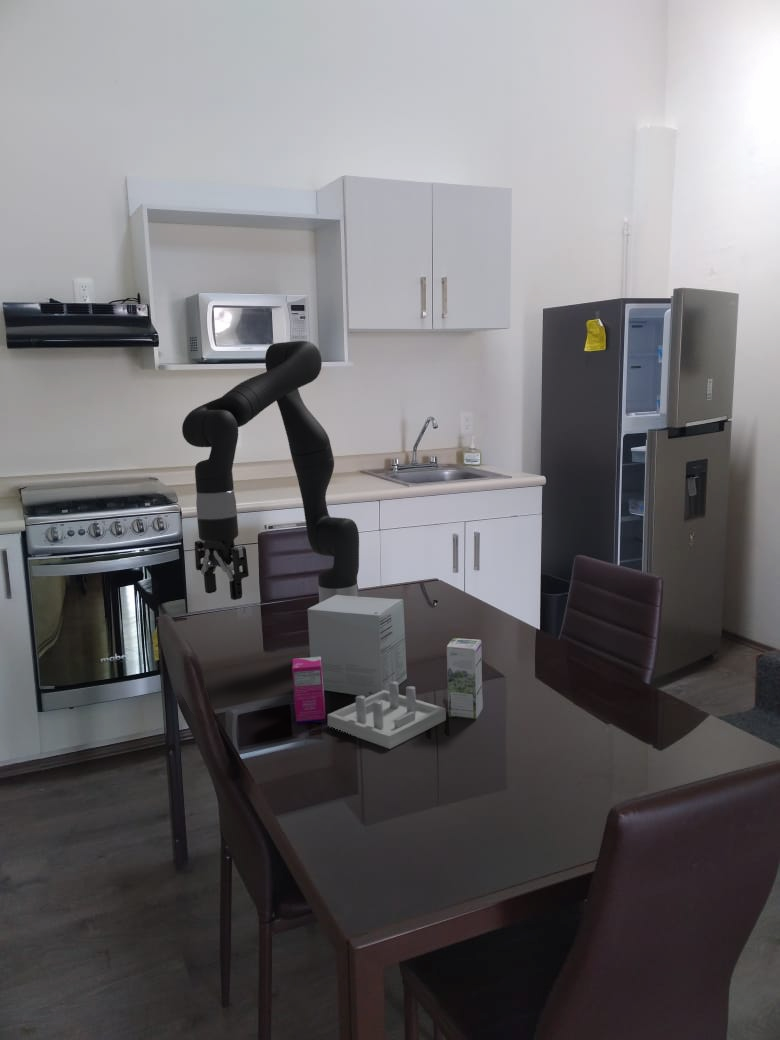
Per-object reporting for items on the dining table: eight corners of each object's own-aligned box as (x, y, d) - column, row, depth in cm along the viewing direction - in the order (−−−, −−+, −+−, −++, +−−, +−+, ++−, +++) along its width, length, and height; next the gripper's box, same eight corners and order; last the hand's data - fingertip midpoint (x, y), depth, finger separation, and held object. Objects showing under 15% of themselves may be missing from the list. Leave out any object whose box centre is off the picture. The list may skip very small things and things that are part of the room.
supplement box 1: (295, 712, 167) (292, 657, 165) (325, 710, 167) (322, 655, 165) (295, 724, 161) (291, 667, 159) (325, 722, 161) (322, 665, 160)
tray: (384, 701, 171) (383, 672, 170) (445, 720, 160) (445, 689, 159) (327, 726, 159) (326, 695, 158) (389, 748, 149) (388, 716, 148)
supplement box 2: (408, 678, 184) (405, 598, 181) (382, 700, 172) (379, 615, 169) (339, 669, 191) (335, 592, 188) (309, 689, 179) (305, 608, 176)
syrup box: (483, 708, 165) (482, 638, 163) (476, 720, 160) (475, 647, 157) (455, 706, 167) (453, 636, 165) (447, 717, 161) (445, 645, 159)
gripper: (255, 514, 159) (261, 597, 161) (212, 508, 168) (218, 586, 171) (222, 520, 153) (229, 605, 156) (179, 514, 163) (186, 594, 166)
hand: (223, 595), depth 164 cm, fingers open, 8 cm apart
